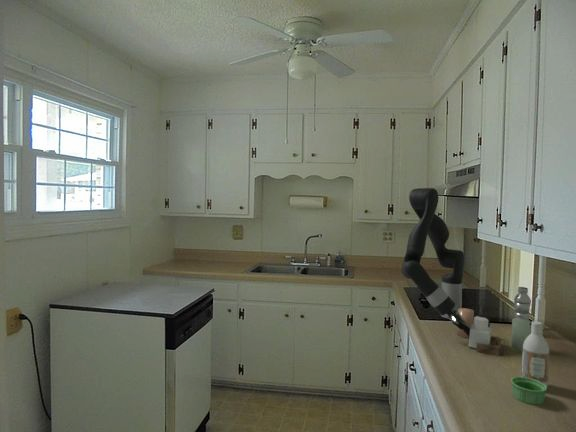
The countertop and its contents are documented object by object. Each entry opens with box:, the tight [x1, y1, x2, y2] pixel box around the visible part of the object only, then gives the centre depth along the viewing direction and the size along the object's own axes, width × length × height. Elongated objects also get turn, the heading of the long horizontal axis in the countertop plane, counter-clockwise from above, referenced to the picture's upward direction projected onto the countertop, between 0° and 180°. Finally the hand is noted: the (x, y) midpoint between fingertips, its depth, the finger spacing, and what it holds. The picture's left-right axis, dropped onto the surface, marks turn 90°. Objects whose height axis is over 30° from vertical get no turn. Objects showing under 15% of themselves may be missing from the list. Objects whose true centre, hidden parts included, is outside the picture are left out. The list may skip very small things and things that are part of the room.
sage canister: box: [510, 317, 531, 352], centre depth 154 cm, size 6×6×11 cm
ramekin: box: [510, 376, 548, 406], centre depth 115 cm, size 9×9×4 cm
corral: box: [476, 335, 504, 357], centre depth 154 cm, size 9×13×3 cm, turn 158°
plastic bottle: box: [513, 286, 532, 321], centre depth 171 cm, size 6×7×20 cm
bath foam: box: [521, 320, 550, 388], centre depth 123 cm, size 7×7×20 cm
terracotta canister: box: [456, 307, 475, 339], centre depth 167 cm, size 6×6×11 cm
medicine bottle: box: [467, 314, 492, 350], centre depth 155 cm, size 7×7×12 cm
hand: (471, 335), depth 156 cm, fingers closed
